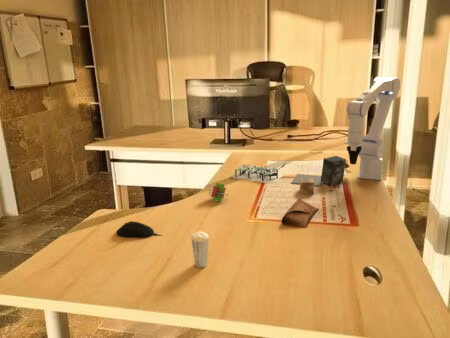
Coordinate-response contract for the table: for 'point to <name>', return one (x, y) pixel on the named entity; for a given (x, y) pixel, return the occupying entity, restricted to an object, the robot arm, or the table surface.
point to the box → (333, 170)
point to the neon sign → (257, 174)
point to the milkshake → (200, 248)
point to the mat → (316, 178)
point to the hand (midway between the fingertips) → (353, 163)
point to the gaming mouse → (135, 230)
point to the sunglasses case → (299, 214)
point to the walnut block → (306, 186)
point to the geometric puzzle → (217, 192)
